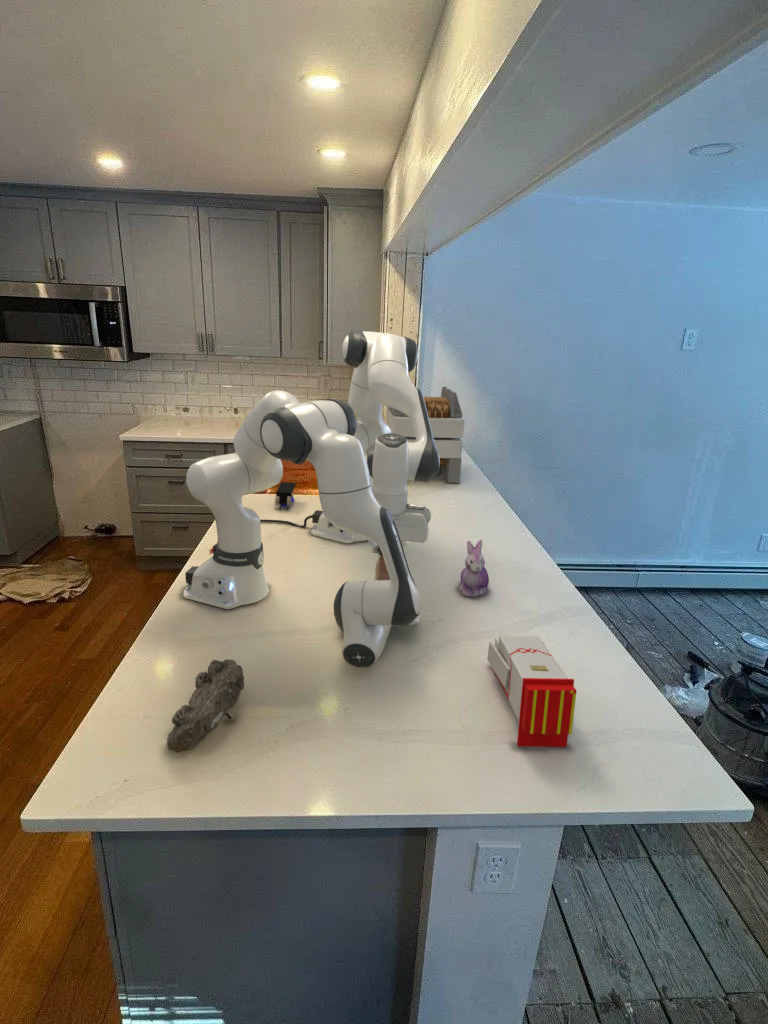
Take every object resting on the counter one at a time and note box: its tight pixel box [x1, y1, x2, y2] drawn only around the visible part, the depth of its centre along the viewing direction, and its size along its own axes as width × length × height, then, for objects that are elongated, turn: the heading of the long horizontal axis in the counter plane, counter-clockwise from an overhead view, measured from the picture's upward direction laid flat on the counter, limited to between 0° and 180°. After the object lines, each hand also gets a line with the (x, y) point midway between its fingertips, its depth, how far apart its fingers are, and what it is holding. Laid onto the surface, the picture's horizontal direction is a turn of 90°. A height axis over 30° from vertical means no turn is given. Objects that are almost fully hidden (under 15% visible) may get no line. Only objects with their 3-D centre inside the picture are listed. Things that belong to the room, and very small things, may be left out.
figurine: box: [459, 539, 490, 598], centre depth 159 cm, size 9×10×15 cm
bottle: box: [374, 555, 390, 581], centre depth 145 cm, size 5×5×19 cm
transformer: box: [385, 386, 465, 484], centre depth 268 cm, size 34×33×41 cm
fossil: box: [166, 658, 245, 754], centre depth 106 cm, size 22×10×15 cm
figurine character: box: [274, 481, 297, 510], centre depth 222 cm, size 7×8×15 cm
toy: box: [486, 635, 577, 748], centre depth 115 cm, size 12×13×30 cm
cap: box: [377, 546, 383, 556], centre depth 142 cm, size 4×4×2 cm
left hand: (385, 592), depth 147 cm, fingers closed on bottle, 5 cm apart
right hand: (386, 553), depth 142 cm, fingers closed on cap, 4 cm apart
